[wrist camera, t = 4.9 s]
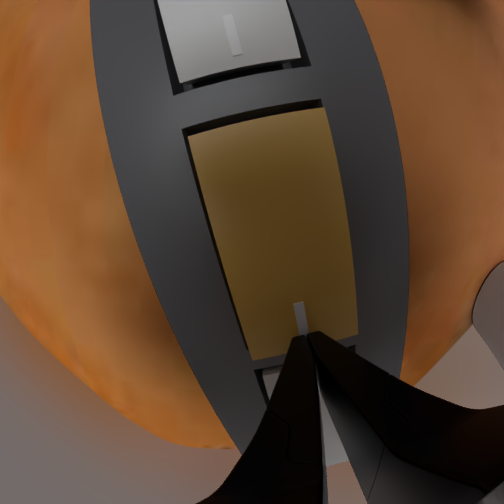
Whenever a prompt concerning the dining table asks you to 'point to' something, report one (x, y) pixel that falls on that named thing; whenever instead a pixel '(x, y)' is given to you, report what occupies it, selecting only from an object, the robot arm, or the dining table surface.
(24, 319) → the dining table surface
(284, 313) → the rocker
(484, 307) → the cup
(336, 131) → the rocker switch panel
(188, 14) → the rocker
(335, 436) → the rocker
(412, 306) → the dining table surface
